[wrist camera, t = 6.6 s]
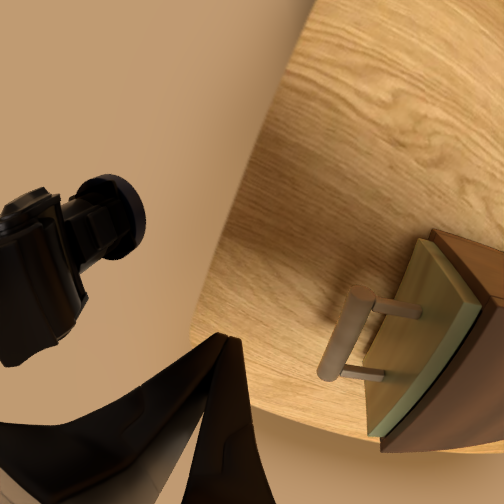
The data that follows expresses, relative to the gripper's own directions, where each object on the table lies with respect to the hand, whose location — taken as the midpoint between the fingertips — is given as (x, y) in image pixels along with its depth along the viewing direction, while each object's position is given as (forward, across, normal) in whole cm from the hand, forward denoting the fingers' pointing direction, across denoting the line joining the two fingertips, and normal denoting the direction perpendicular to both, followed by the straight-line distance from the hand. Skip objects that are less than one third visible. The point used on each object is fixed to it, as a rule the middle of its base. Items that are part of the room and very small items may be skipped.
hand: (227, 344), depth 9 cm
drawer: (+9, -13, +3) cm, 16 cm away
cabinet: (+10, -17, +3) cm, 20 cm away
